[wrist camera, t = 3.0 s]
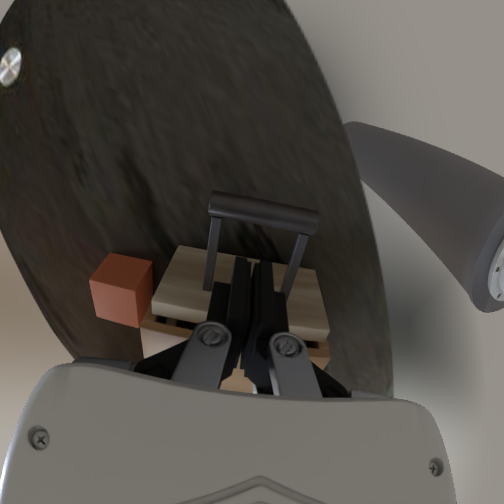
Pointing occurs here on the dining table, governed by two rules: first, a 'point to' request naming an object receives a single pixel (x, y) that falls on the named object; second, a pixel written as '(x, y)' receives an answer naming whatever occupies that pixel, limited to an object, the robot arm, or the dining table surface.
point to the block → (122, 289)
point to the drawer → (221, 267)
